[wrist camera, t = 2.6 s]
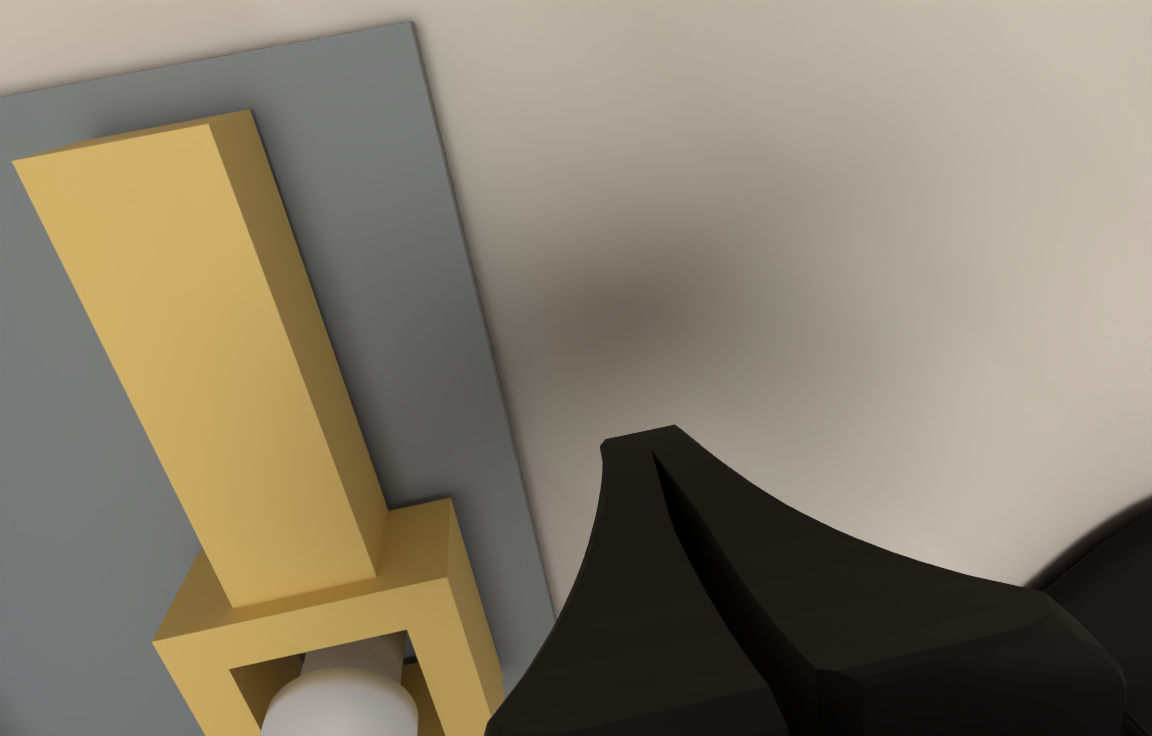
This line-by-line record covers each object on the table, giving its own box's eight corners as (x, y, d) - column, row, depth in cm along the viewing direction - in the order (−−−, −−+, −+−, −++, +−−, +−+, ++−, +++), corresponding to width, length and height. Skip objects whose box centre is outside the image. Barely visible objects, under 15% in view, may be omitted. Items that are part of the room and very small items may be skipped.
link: (503, 674, 21) (507, 768, 19) (285, 724, 21) (257, 825, 18) (330, 93, 14) (298, 108, 12) (1, 156, 14) (-112, 185, 11)
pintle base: (568, 669, 23) (593, 837, 19) (-134, 828, 22) (-301, 1049, 18) (413, 21, 15) (385, 18, 10) (-706, 228, 14) (-1319, 332, 9)
